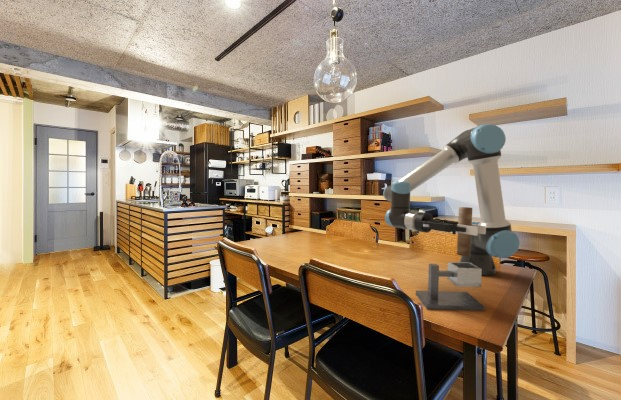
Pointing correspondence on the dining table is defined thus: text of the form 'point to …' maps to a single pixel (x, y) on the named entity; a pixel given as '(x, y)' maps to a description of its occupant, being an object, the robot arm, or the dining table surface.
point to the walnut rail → (464, 239)
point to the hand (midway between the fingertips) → (481, 230)
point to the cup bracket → (445, 300)
